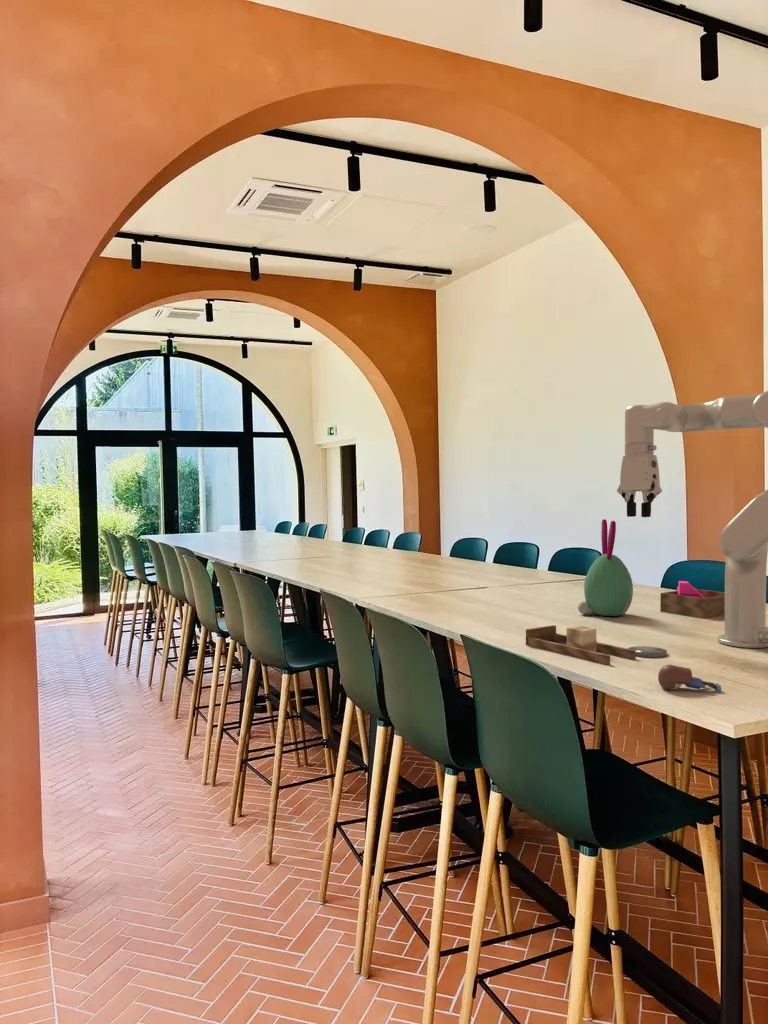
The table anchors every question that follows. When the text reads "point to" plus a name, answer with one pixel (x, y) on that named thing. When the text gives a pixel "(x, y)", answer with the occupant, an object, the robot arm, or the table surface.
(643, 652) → the coaster
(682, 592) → the bracket
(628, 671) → the table surface
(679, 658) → the table surface
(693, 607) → the display box
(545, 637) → the channel
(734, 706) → the table surface
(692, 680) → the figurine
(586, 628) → the block
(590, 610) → the toy
